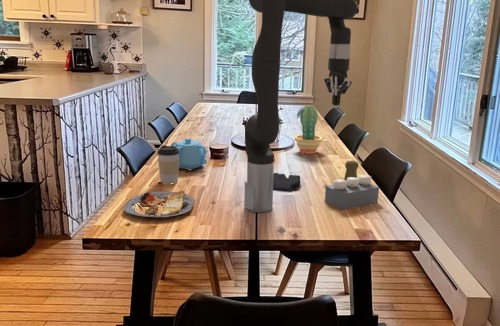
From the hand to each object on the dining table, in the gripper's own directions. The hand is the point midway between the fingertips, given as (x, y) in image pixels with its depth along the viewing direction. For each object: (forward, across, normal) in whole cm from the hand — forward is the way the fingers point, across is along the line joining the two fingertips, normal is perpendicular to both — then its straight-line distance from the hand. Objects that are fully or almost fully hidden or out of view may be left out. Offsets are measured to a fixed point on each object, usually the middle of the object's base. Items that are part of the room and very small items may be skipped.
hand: (335, 105), depth 167 cm
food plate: (+36, -16, -63) cm, 74 cm away
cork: (+35, -4, +14) cm, 38 cm away
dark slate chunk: (+36, -21, -13) cm, 43 cm away
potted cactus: (+35, -61, +35) cm, 79 cm away
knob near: (+35, +10, -4) cm, 36 cm away
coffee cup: (+35, -43, -50) cm, 75 cm away
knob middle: (+35, +10, +2) cm, 36 cm away
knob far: (+35, +10, +8) cm, 37 cm away
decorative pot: (+35, -61, -34) cm, 78 cm away
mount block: (+35, +10, +2) cm, 36 cm away
